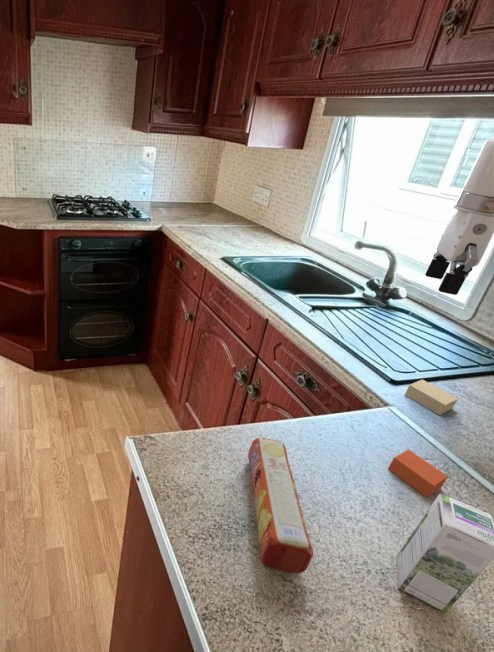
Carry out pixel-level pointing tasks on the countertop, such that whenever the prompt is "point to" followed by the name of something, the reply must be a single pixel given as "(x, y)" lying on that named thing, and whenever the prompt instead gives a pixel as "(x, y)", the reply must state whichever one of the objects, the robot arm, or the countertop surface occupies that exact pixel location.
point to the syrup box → (446, 552)
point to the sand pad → (431, 397)
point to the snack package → (278, 509)
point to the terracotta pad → (417, 473)
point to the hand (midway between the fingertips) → (439, 284)
